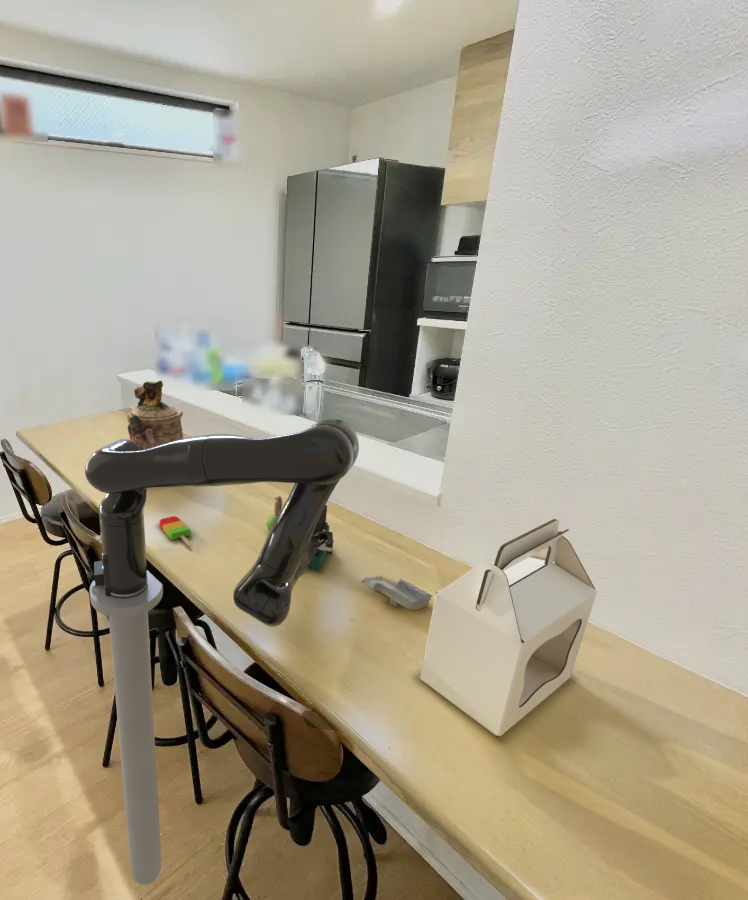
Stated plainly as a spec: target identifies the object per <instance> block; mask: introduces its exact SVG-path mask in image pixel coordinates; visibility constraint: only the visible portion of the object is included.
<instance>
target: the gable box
mask: <svg viewBox="0 0 748 900" xmlns="http://www.w3.org/2000/svg"><path fill="white" fill-rule="evenodd" d="M559 525H560V520H559V519H556V518H552V519H551V520H549V521H547V522H545V523H543V524H541V525H538V526H537V527H534V528H533V529H531V530H529V531H527V532H525V533H523V534H521V535H519V536H516V537H515V538H513V539H511V540H509V541H507V542H505V543H503V544H502V545H501V546H500V547H499V548H498V550H497V553H496V557H495V560H494V561H493V562H491V563H489V562H482V563H478V564H477V565H476V566H473V567H472V568H471V569H469V570H468V571H467V572H465V573H464V574H462V575H460V576H459V577H458V578H457V579H455V580H454V581H452V582H450V583H449V584H448V585H446V586H445V587H443V588H442V589H440V590H437V591H436V592H435V596H434V601H433V606H432V612H431V618H430V623H429V627H428V633H427V639H426V645H425V649H424V656H423V661H422V666H421V672H420V680H421V681H423V683H425V684H426V685H427V686H429V687H431V689H433V690H434V691H436V692H437V693H439V694H440V695H441V696H442V697H444V698H445V699H446V700H448V701H449V702H450V703H451V704H453V705H454V706H455V707H457V708H459V709H460V710H461V711H463V712H464V713H465V714H466V715H468V716H469V717H471V718H472V719H473V720H474V721H476V722H477V723H479V724H480V725H481V726H482V727H484V728H485V729H486V730H488V731H489V732H491V733H492V734H493V735H494V736H496V737H501V736H502V735H504V734H505V733H506V732H508V731H509V730H510V729H511V728H512V727H513V726H515V725H516V724H517V723H518V722H519V721H521V720H522V719H523V718H524V717H526V715H527V714H529V713H530V712H531V711H533V710H534V709H535V708H536V707H537V706H538V705H540V704H541V703H542V702H543V701H544V700H546V699H547V698H548V697H549V696H550V695H551V694H552V693H554V692H555V691H556V690H558V689H559V688H560V687H561V686H562V685H563V684H564V683H565V682H567V681H568V680H569V679H571V676H572V673H573V670H574V667H575V664H576V661H577V658H578V653H579V650H580V648H581V644H582V641H583V638H584V635H585V631H586V628H587V625H588V622H589V619H590V616H591V612H592V609H593V606H594V603H595V601H596V600H595V599H596V597H597V593H598V591H597V590H596V588H595V585H594V584H593V582H592V580H591V578H590V576H589V575H588V573H587V571H586V569H585V568H584V566H583V563H582V562H581V560H580V558H579V557H578V555H577V553H576V550H575V549H574V546H572V543H571V542H570V541H569V540H568V539H567V538H566V537H565V536H564V535H565V534H567V533H568V532H569V530H570V529H569V528H567V529H565V530H563V531H561V530H559ZM478 605H479V606H481V605H482V607H481V609H480V610H479V609H478Z"/></svg>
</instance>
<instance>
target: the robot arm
mask: <svg viewBox="0 0 748 900" xmlns="http://www.w3.org/2000/svg"><path fill="white" fill-rule="evenodd" d="M359 450H360V441H359V438H358V435H357V434H356V431H355V430H354V428H353V427H352V426H351V425H350V424H348V423H347V422H345V421H344V420H341V419H335V418H327V419H324V420H319V421H317V422H316V423H313V424H312V425H311V426H309V427H308V428H307V429H304V430H301V431H298V432H292V433H288V434H283V435H277V436H271V437H249V436H243V435H238V434H232V433H231V434H230V433H212V434H203V435H193V436H188V437H185V438H184V437H183V439H179V440H176V441H173V442H169V443H166V444H163V445H160V446H157V447H154V448H151V449H147V450H141V448H140V447H139V446H138V445H137V444H136V443H135V442H133V441H131V440H130V439H129V438H120V439H117V440H115V441H113V442H111V443H109V444H106V445H105V446H103V447H100V448H99V449H97V450H96V451H94V452H93V453H92V454H91V455H90V456H89V457H88V459H87V461H86V463H85V466H84V475H85V479H86V480H87V482H88V484H90V486H91V487H93V488H94V489H95V490H97V491H99V492H101V493H105V495H104V497H103V498H102V499H101V502H100V503H99V505H98V519H99V531H100V543H101V560H97V561H94V563H93V569H94V570H93V572H92V573H91V574H90V575H89V579H90V580H91V581H92V582H93V581H95V586H102V585H105V595H106V597H107V596H112V597H115V598H123V599H124V598H132V597H135V596H137V595H139V594H141V593H143V592H144V591H145V590H146V588H147V586H148V579H147V570H148V569H147V551H146V533H145V532H146V531H145V513H144V511H145V510H144V508H145V505H146V503H147V497H148V489H157V488H158V489H159V488H160V489H162V488H164V489H166V488H169V489H171V488H173V489H174V488H208V487H210V488H211V487H224V486H238V485H249V484H250V485H251V484H257V483H286V484H294V485H293V487H292V489H291V491H290V494H289V495H288V497H287V499H285V500H286V501H285V502H284V504H283V505H282V509H281V511H280V513H279V514H278V516H277V518H276V520H275V522H274V524H273V525H272V527H271V529H270V531H269V530H268V533H267V535H266V538H265V540H264V543H263V545H262V548H261V550H260V552H259V555H258V556H257V559H256V560H255V562H254V563H253V565H252V567H250V568H249V570H248V572H246V573H245V575H243V576H242V578H241V579H240V580H239V581H238V582H237V584H236V585H235V587H234V589H233V592H232V599H233V603H234V605H235V606H236V608H238V609H239V610H241V611H242V612H243V613H245V614H247V615H248V616H250V617H252V618H253V619H255V620H257V621H258V622H260V623H261V624H263V625H264V626H267V627H269V628H275V627H278V626H280V625H282V624H283V623H284V622H285V621H286V619H287V617H288V615H289V613H290V611H291V610H290V609H291V605H292V595H293V590H294V587H295V585H296V584H297V582H298V580H299V579H300V578H301V577H302V576H303V575H304V574H305V572H306V571H307V570H308V565H309V564H310V562H311V561H312V559H313V557H314V555H315V554H316V553H318V552H319V551H320V550H324V551H327V554H329V555H330V556H331V555H332V554H333V550H334V533H333V532H332V531H330V525H329V523H328V522H327V521H326V522H325V523H324V524H323V526H322V527H321V529H320V530H319V531H316V530H315V531H314V529H315V527H316V525H317V522H318V520H319V517H320V515H321V513H322V511H323V509H324V507H325V505H327V503H328V501H329V499H330V497H331V495H332V494H333V491H334V490H335V489H336V486H337V485H338V483H339V482H340V481H341V479H343V478H344V477H345V476H347V474H348V473H349V471H350V470H351V469H352V468H353V466H354V464H355V463H356V461H357V459H358V456H359ZM324 540H326V541H325V543H323V544H320V543H321V542H322V541H324ZM329 555H328V556H329Z"/></svg>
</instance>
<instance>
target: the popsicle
mask: <svg viewBox="0 0 748 900" xmlns="http://www.w3.org/2000/svg"><path fill="white" fill-rule="evenodd" d="M159 528H161V529H162V530H163V532H164V533H165V534H166V536H167V537H168V538H169V539H170V540H172V541H173V540H177V539H181V540H182V541H183V542H184V543H185V544H186V546H188V547H192V546H193V545H192V543H191V542H190V540H189V539H188V538H187V537H189V536H191V535H192V532H191V531H192V530H191V529H190V528H189V527H188V526H187V525H186V524H185V523H184V522H183V521H182V520H181V518H179V517H178V516H177V515H176V516H175V515H173V516H168V517H164V518H161V519H160V520H159Z"/></svg>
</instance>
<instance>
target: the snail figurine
mask: <svg viewBox="0 0 748 900" xmlns="http://www.w3.org/2000/svg"><path fill="white" fill-rule="evenodd" d="M274 500H275V501H274V509H273V514H271V515H269V517H267V520H266V528H267V530H268V532H269V531H270V529H271V527H272V525H273V524H274V522H275V520H276V518H277V516H278V514H279V513H280V511H281V509H282V508H283V498H282V496H281V495H278V496H275V497H274Z"/></svg>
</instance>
